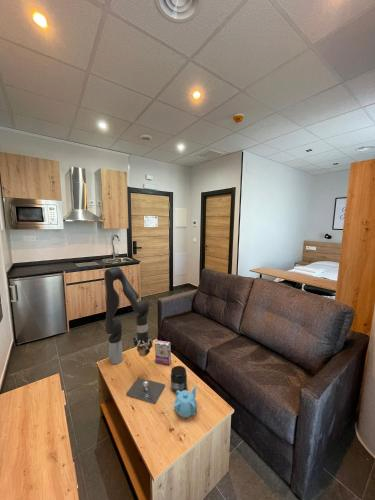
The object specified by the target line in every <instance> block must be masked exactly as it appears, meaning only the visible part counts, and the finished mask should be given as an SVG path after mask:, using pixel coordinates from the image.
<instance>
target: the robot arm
mask: <svg viewBox="0 0 375 500" xmlns="http://www.w3.org/2000/svg"><path fill="white" fill-rule="evenodd" d="M117 280H118V281H119V282H120V283H121V286H122V292H123V294H124V296H125V297H126V299H127V300H128V301H129V303H130V305H131V309H132V310H133V312H134V313H136V314H138V315H136V335H134V337H133V339H132V340H133V345H134V347H136V351H137V353H139V347H140V346H141V345H145V346H146V348H147V354H148V355H149V354H150V352H151V349H152V347H153V343H154V342H153V341H154V340H153V338H149V324H148V313H149V308H150V305H149V302H148V300H147V299H142V300H140V301H138V299H139V297H140V296H139V293H137V291H136V290H135V289H134V287H133V286H132V285H131V284H130V281H128V278H127V276H126V275H125V273H124V271H123V269H121V268H120V267H119V266H114V267H110V268H106V269H105V271H104V281H105V282H104V283H105V308H106V309H105V311H106V312H105V313H106V314H105V324H104V326H105V327H104V329H105V333H106V334H107V335H109V336H108V348H109V349H108V362H109V363H110V364H112V365H118V364H120V363H122V361H123V358H124V357H123V343H122V336H123V335H122V334H123V331H122V330H123V329H122V328H123V327H122V321H121V320H120V318H114V317H115V314H116V313H117V311H118V309H119V306H120V295H119V293H118V292H117V291H116V289H115V287H114V282H115V281H117Z"/></svg>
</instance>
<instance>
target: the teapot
mask: <svg viewBox="0 0 375 500" xmlns="http://www.w3.org/2000/svg"><path fill="white" fill-rule="evenodd" d="M197 386H198V385H197V384H196V385H194V386H193V389H192V392H190V391H188V390H187V389H186V390H183V391H181V392H180V391H179V390H178V391H176V392H175V395H176V396H175V400H174V405H173V409H174V411H176V413H177V414H178V415H179V416H180V417H182V418H183V419H184V420H187V418H190V417H191V416H196V412H195V411H196V410H197V407H198V406H197V400H196V392H197V391H196V390H197Z"/></svg>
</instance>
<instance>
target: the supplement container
mask: <svg viewBox="0 0 375 500" xmlns="http://www.w3.org/2000/svg"><path fill="white" fill-rule="evenodd" d="M187 376H188V374H187V369H186V367H185V366H183V365H176V366H173V367H172V368H171V370H170V389H171V390H172V392H173V393H176V391H178V390H179V391H180V392H181V391H183V390H187V388H188V384H187V383H188V381H187V379H188V377H187Z"/></svg>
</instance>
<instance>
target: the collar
mask: <svg viewBox="0 0 375 500" xmlns="http://www.w3.org/2000/svg"><path fill="white" fill-rule="evenodd" d="M148 355H149V353H148V354H147V348H146V346H145V345H144V344H140V347H139V352H138V356H140V357H146V356H148Z"/></svg>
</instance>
